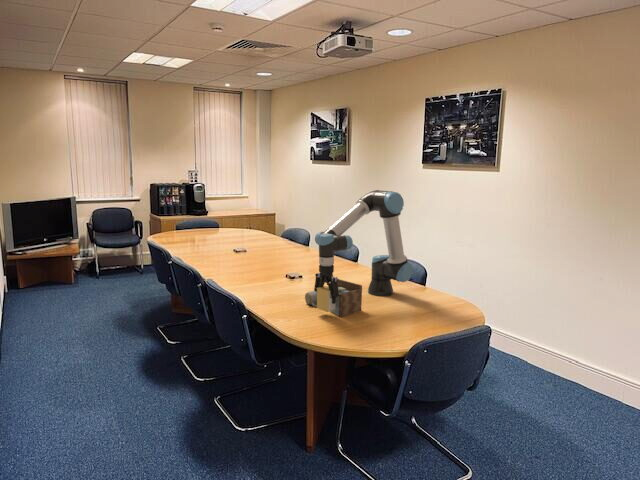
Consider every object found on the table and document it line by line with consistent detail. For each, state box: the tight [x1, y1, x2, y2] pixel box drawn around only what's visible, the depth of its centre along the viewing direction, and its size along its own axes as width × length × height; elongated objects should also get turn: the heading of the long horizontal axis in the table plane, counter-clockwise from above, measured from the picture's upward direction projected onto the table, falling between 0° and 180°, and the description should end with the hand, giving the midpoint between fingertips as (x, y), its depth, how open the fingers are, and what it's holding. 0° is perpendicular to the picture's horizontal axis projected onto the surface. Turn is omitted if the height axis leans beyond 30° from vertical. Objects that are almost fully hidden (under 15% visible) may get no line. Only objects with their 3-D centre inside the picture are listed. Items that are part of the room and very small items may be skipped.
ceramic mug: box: [304, 290, 317, 308], centre depth 263 cm, size 11×8×8 cm
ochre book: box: [316, 285, 335, 313], centre depth 243 cm, size 8×6×11 cm
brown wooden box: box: [329, 278, 363, 318], centre depth 255 cm, size 16×20×14 cm
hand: (326, 307), depth 244 cm, fingers closed on ochre book, 8 cm apart
